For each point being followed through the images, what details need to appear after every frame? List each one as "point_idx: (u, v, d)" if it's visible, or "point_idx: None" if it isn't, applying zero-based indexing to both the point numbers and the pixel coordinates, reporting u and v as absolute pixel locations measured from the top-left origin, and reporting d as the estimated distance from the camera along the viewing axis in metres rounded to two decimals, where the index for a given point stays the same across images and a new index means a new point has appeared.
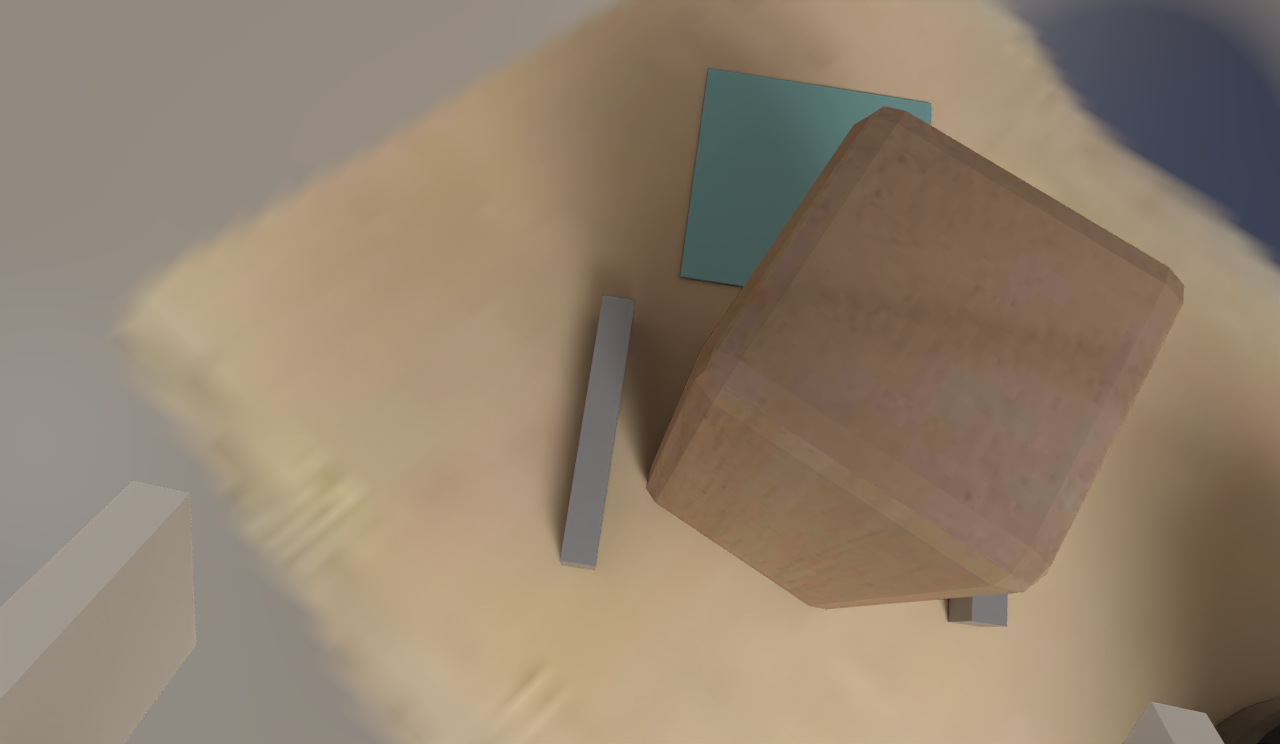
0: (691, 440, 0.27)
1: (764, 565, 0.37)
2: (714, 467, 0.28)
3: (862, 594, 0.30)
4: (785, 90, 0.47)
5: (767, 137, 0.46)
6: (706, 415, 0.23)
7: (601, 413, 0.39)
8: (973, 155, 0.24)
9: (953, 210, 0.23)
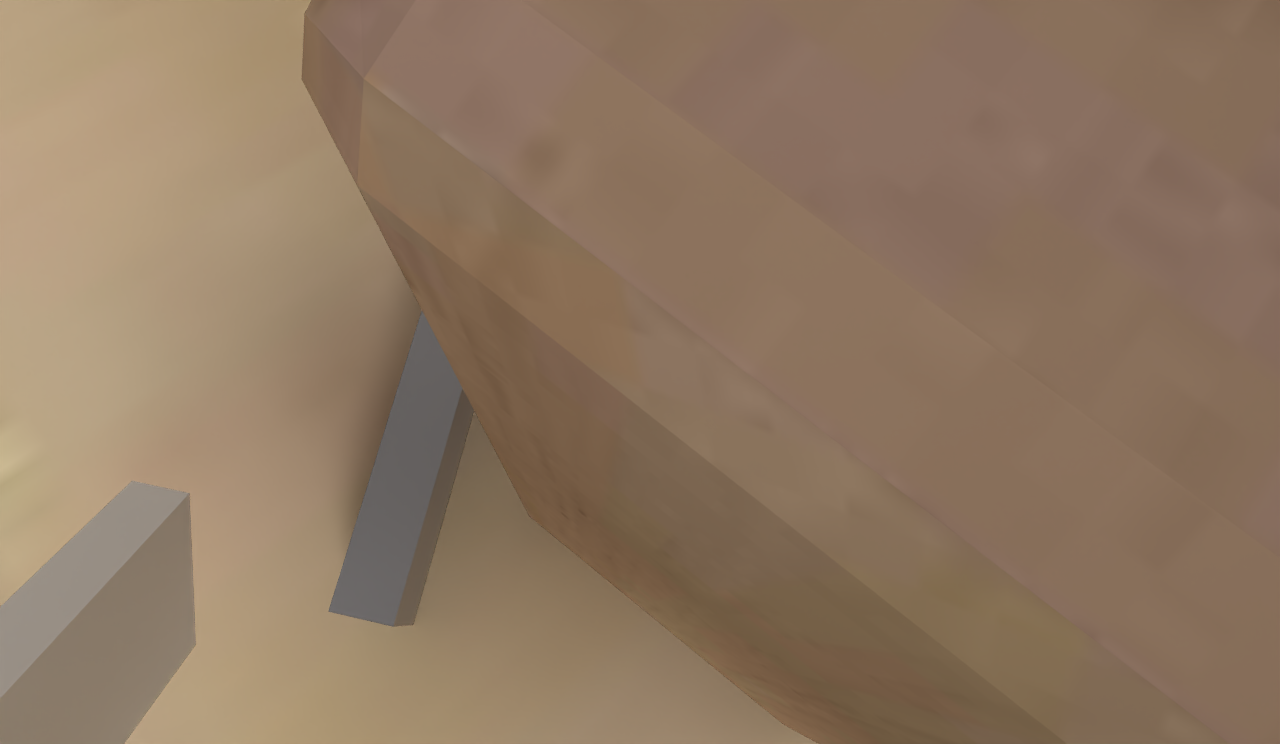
0: (460, 383, 0.09)
1: (704, 653, 0.20)
2: (541, 464, 0.11)
3: None
4: None
5: None
6: (403, 270, 0.06)
7: (442, 351, 0.22)
8: None
9: None
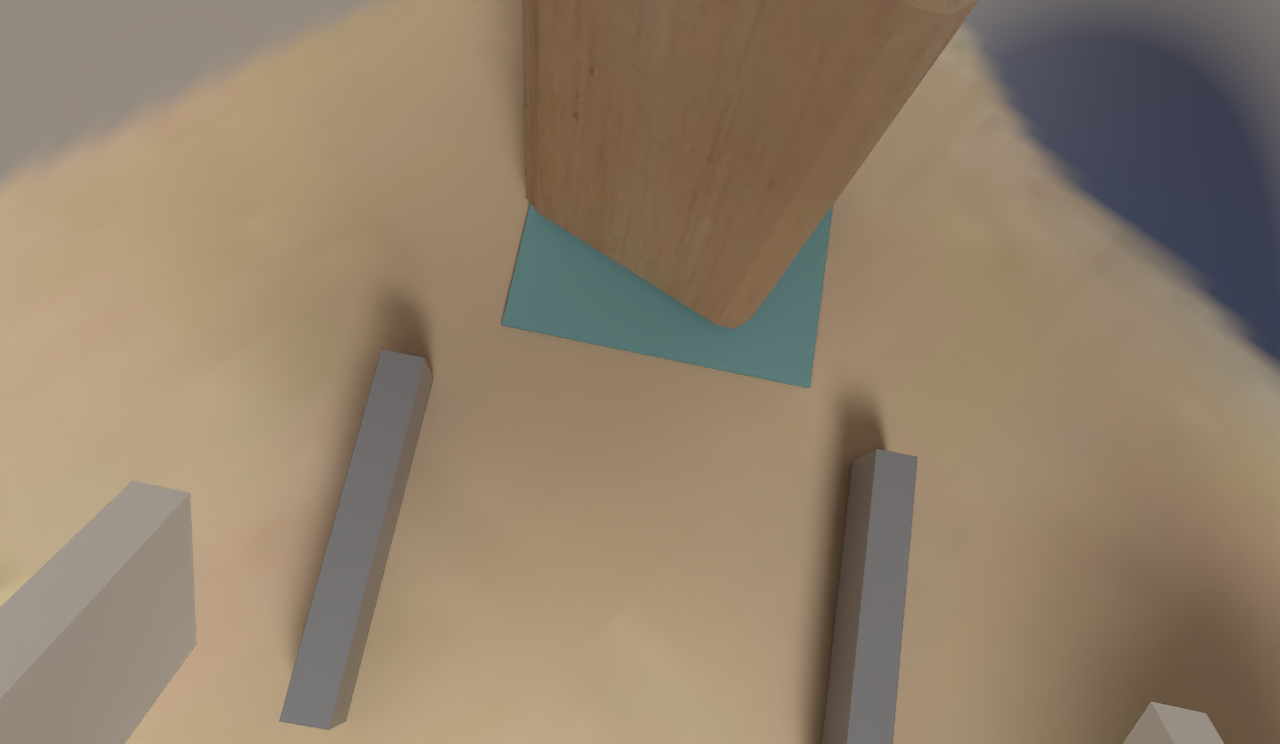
0: None
1: (661, 262, 0.31)
2: (574, 18, 0.22)
3: (766, 224, 0.25)
4: None
5: None
6: None
7: (361, 513, 0.29)
8: None
9: None
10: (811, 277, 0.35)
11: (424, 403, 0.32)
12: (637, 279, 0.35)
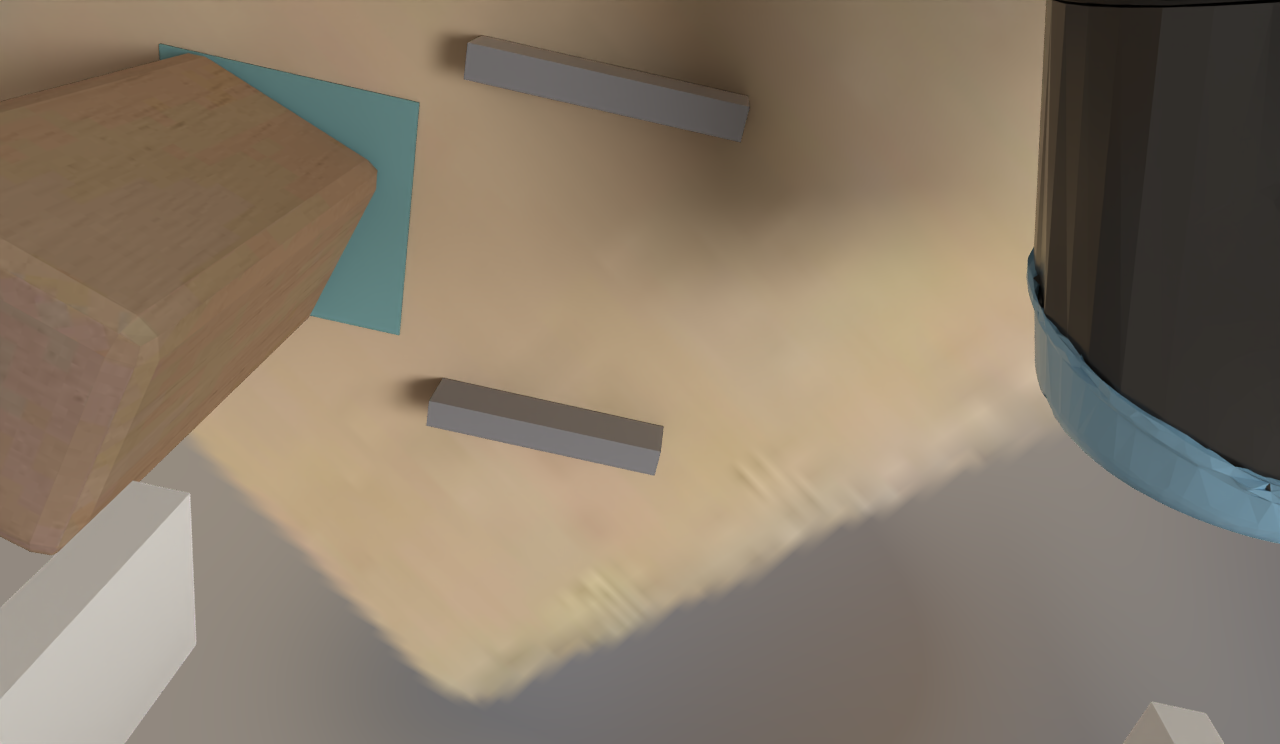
0: None
1: (333, 251, 0.41)
2: (187, 425, 0.34)
3: (296, 255, 0.34)
4: None
5: None
6: None
7: (533, 436, 0.45)
8: None
9: None
10: (320, 91, 0.41)
11: (461, 386, 0.47)
12: None
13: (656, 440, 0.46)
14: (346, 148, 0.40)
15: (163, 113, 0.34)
